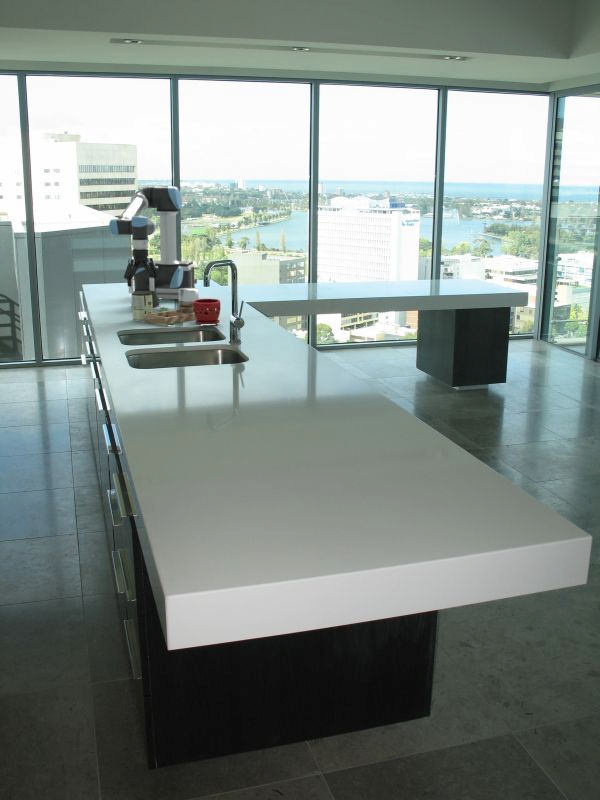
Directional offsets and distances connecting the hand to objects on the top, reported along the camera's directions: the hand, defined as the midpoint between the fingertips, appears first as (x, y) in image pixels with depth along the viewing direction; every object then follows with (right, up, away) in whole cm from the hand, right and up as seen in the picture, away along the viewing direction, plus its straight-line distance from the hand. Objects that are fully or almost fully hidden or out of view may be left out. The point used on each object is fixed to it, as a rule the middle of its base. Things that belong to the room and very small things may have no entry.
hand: (141, 292), depth 413 cm
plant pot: (+33, -17, -7) cm, 38 cm away
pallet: (+18, -14, +4) cm, 23 cm away
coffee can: (0, -14, +4) cm, 14 cm away
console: (+9, -11, +14) cm, 20 cm away
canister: (+22, -11, +9) cm, 27 cm away
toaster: (+1, +7, +84) cm, 84 cm away
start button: (+9, -10, +14) cm, 19 cm away
